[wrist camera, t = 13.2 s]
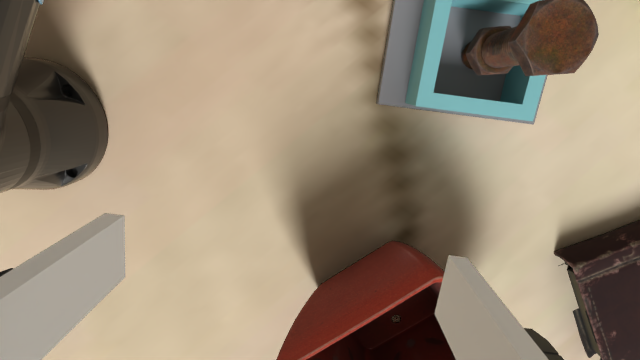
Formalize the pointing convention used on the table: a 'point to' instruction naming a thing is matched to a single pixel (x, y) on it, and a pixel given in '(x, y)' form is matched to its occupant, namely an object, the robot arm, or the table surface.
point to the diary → (607, 292)
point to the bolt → (536, 41)
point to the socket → (453, 61)
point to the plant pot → (373, 312)
